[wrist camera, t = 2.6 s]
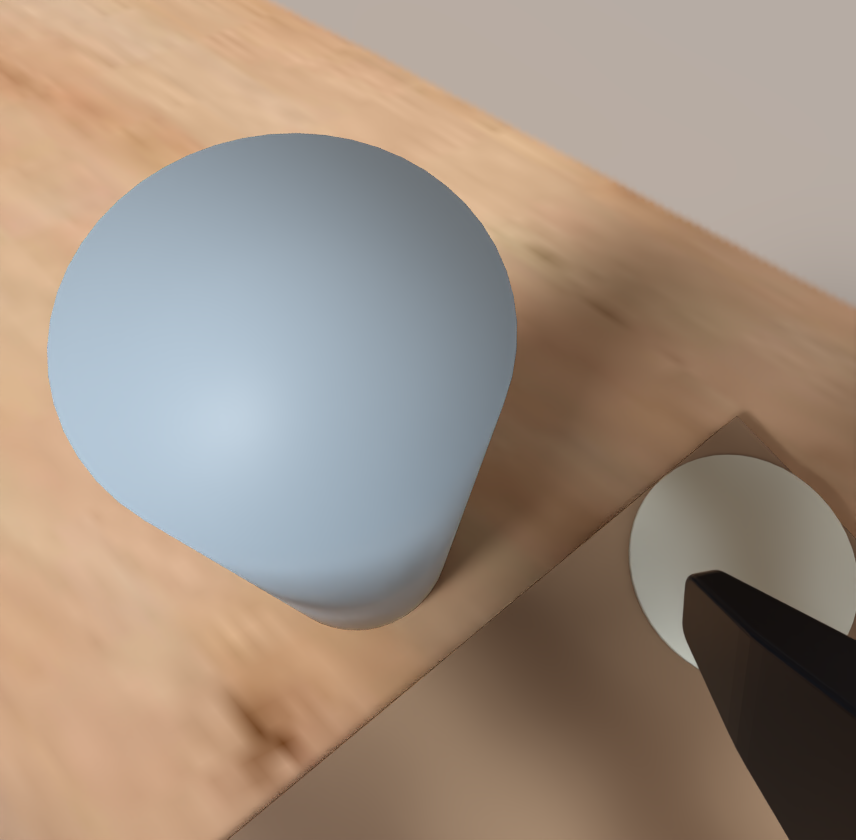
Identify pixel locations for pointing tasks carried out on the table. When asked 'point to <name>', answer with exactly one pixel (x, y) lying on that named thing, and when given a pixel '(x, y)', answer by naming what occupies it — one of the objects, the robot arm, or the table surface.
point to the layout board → (592, 682)
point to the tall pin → (290, 366)
